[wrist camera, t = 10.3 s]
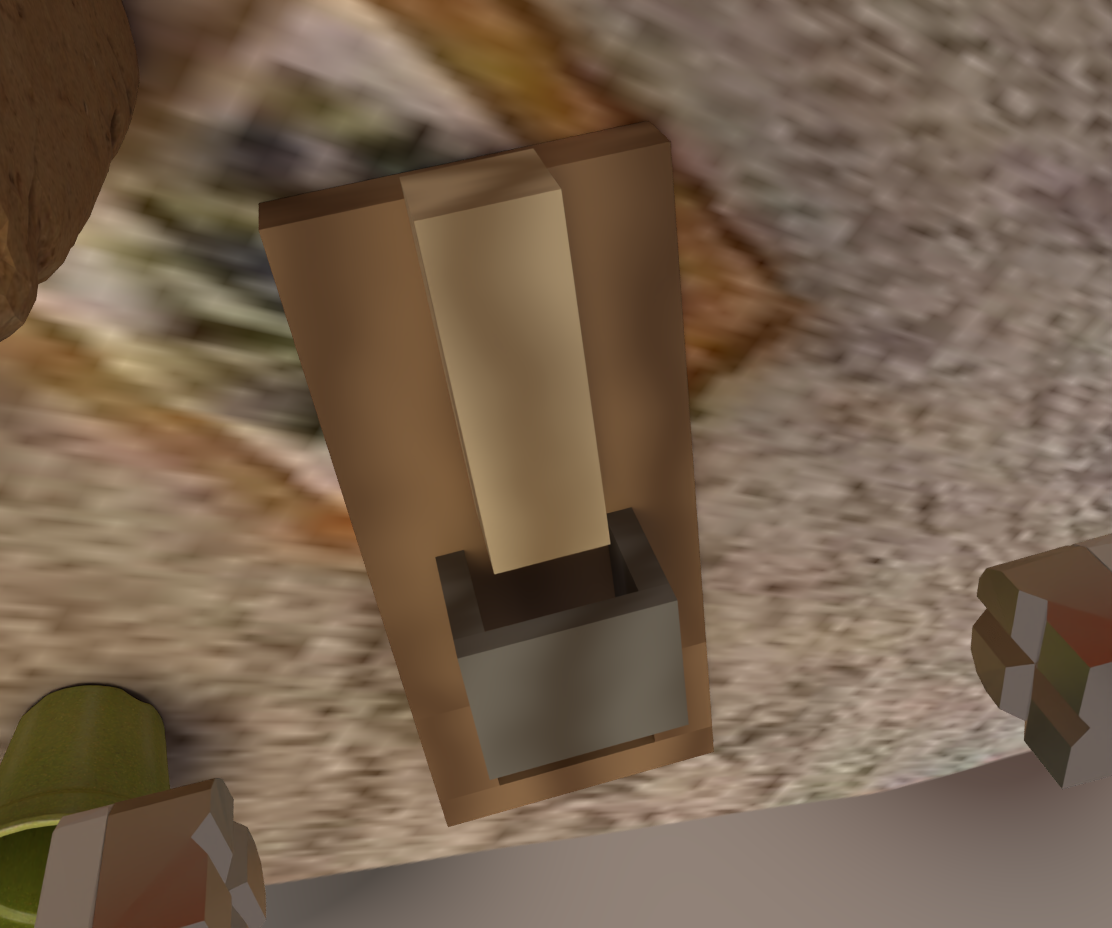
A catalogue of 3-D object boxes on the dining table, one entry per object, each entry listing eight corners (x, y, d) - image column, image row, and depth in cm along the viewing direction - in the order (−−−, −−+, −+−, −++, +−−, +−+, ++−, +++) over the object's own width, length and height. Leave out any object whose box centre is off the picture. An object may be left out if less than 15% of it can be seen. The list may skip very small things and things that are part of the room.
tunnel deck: (648, 120, 38) (734, 202, 31) (697, 716, 56) (758, 849, 50) (258, 203, 36) (258, 309, 29) (441, 787, 55) (467, 935, 48)
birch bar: (533, 148, 35) (561, 188, 32) (584, 484, 43) (610, 544, 40) (399, 177, 34) (414, 221, 31) (476, 511, 42) (494, 574, 39)
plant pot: (215, 786, 51) (208, 950, 44) (3, 816, 49) (-39, 993, 42) (189, 642, 46) (177, 802, 39) (-49, 668, 44) (-107, 843, 37)
